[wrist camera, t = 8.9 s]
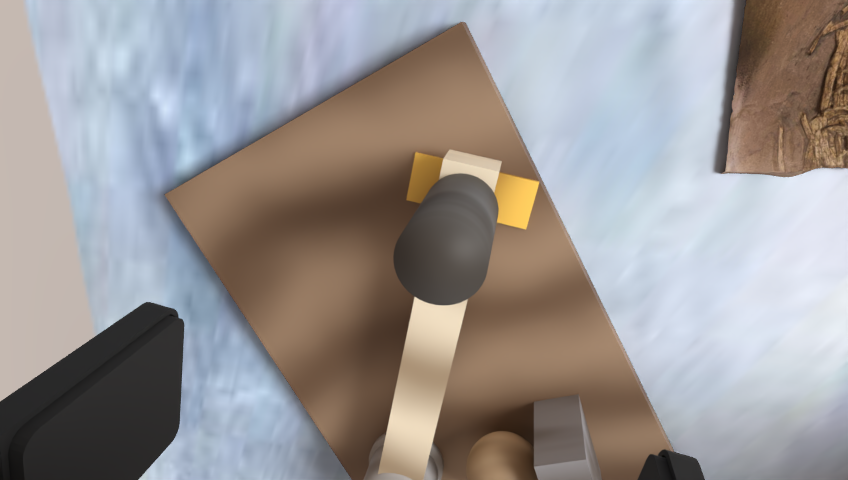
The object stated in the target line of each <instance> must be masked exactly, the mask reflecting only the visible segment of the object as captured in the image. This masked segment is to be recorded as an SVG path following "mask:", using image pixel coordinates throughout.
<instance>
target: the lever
mask: <svg viewBox="0 0 848 480" xmlns="http://www.w3.org/2000/svg"><path fill="white" fill-rule="evenodd" d="M501 163H502V161H498V160H494V159H490V158H485V157H481V156H476V155H472V154H468V153H463V152H459V151H455V150H449V151H448V153H447V154H446V156H445V157H444V158H443V163H442V167H441V172H440V177H439V180H438V181H437V182H436V183H435V184H434V185H433V186H432V187H431V188H430V190H429V192H428V193H427V195H426V196H425V198H424V199H423V201H422V202H421V204H420V206H419V207H418V209H417V210H416V212H415V213H414V215H413V216H412V218H411V220H410V221H409V223H408V224H407V226H406V227H405V229H404V230H403V232H402V233H401V235H400V237H399V238H398V240H397V243H396V245H395V249H394V255H393V263H394V268H395V272H396V274H397V277H398V279H399V280H400V282H401V284H402V285H403V286H404V288H405V289H406V290H407V291H408V292H409V293H411V294H412V295H413V296H414V302H413V307H412V312H411V317H410V322H409V326H408V331H407V336H406V341H405V346H404V350H403V355H402V360H401V365H400V370H399V375H398V379H397V384H396V389H395V394H394V399H393V403H392V408H391V413H390V418H389V423H388V428H387V432H386V437H385V442H384V445H382V446H381V447H379V448H378V449H377V450H376V451H375V453H374V454H373V456H372V459H371V461H370V464H369V467H368V469H367V472H366V474H365V477H364V480H438V468H437V465H436V463H435V461H434V459H433V458H432V457H431V456H430V451H431V446H432V442H433V438H434V434H435V430H436V426H437V422H438V418H439V414H440V410H441V406H442V402H443V398H444V394H445V390H446V386H447V382H448V378H449V374H450V370H451V366H452V361H453V357H454V353H455V349H456V345H457V341H458V337H459V333H460V329H461V325H462V321H463V317H464V313H465V309H466V305H467V301H468V299H469V298H470V297H472V296H473V295H474V294H475V293H476V292H477V291H478V290H479V289H480V287H481V286H482V284H483V282H484V281H485V278H486V275H487V271H488V266H489V260H490V255H491V250H492V245H493V239H494V234H495V229H496V224H497V219H498V211H499V208H498V202H497V198H496V196H495V194H494V192H495V187H496V183H497V179H498V175H499V171H500V167H501Z"/></svg>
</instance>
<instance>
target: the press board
mask: <svg viewBox="0 0 848 480" xmlns="http://www.w3.org/2000/svg"><path fill="white" fill-rule="evenodd" d="M449 150H455V151H459V152H463V153H468V154H472V155H476V156H481V157H485V158H490V159H494V160H498V161H502V163H501V167H500V171H499V175H498V179H497V183H496V187H495V192H494V194H495V196H496V198H497V202H498V208H499V211H498V219H497V224H496V229H495V234H494V239H493V245H492V250H491V255H490V260H489V266H488V271H487V275H486V278H485V281H484V282H483V284H482V286H481V287H480V289H479V290H478V291H477V292H476V293H475V294H474V295H473V296H472V297H470V298H469V299H468V301H467V305H466V309H465V313H464V317H463V321H462V325H461V329H460V333H459V337H458V341H457V345H456V349H455V353H454V357H453V361H452V366H451V370H450V374H449V378H448V382H447V386H446V390H445V394H444V398H443V402H442V406H441V410H440V414H439V418H438V422H437V426H436V430H435V434H434V438H433V442H432V446H431V451H430V456H431V457H432V458H433V459H434V461H435V463H436V465H437V468H438V480H638V477H639V475H640V473H641V470H642V468H643V466H644V464H645V461H646V459H647V457H648V456H649V455H650V454H654V455H657V456H658V454H659V452H660V451H661V450H664V449H665V450H669V451H672V452H674V450H673V448H672V446H671V444H670V442H669V440H668V438H667V436H666V434H665V432H664V430H663V428H662V425H661V423H660V421H659V419H658V417H657V415H656V413H655V411H654V409H653V407H652V405H651V403H650V401H649V399H648V397H647V395H646V393H645V391H644V388H643V386H642V384H641V382H640V380H639V378H638V376H637V374H636V372H635V370H634V368H633V366H632V364H631V362H630V360H629V358H628V356H627V354H626V351H625V349H624V347H623V345H622V343H621V341H620V339H619V337H618V335H617V333H616V331H615V329H614V327H613V325H612V323H611V321H610V319H609V317H608V314H607V312H606V310H605V308H604V306H603V304H602V302H601V300H600V298H599V296H598V294H597V292H596V290H595V288H594V286H593V284H592V282H591V280H590V277H589V275H588V273H587V271H586V269H585V267H584V265H583V263H582V261H581V259H580V257H579V255H578V253H577V251H576V249H575V247H574V245H573V243H572V240H571V238H570V236H569V234H568V232H567V230H566V228H565V226H564V224H563V222H562V220H561V218H560V216H559V214H558V212H557V210H556V208H555V206H554V203H553V201H552V199H551V197H550V195H549V193H548V191H547V189H546V187H545V185H544V183H543V181H542V179H541V177H540V175H539V173H538V171H537V169H536V166H535V164H534V162H533V160H532V158H531V156H530V154H529V152H528V150H527V148H526V146H525V144H524V142H523V140H522V138H521V136H520V134H519V132H518V129H517V127H516V125H515V123H514V121H513V119H512V117H511V115H510V113H509V111H508V109H507V107H506V105H505V103H504V101H503V99H502V97H501V95H500V92H499V90H498V88H497V86H496V84H495V82H494V80H493V78H492V76H491V74H490V72H489V70H488V68H487V66H486V64H485V62H484V60H483V58H482V55H481V53H480V51H479V49H478V47H477V45H476V43H475V41H474V39H473V37H472V35H471V33H470V31H469V29H468V27H467V25H466V23H465V22H461V23H459V24H457V25H455V26H454V27H452V28H450V29H449V30H447V31H445V32H443V33H442V34H440V35H438V36H437V37H435V38H433V39H431V40H430V41H428V42H426V43H425V44H423V45H421V46H419V47H418V48H416V49H414V50H412V51H411V52H409V53H407V54H406V55H404V56H402V57H400V58H399V59H397V60H395V61H394V62H392V63H390V64H388V65H387V66H385V67H383V68H382V69H380V70H378V71H376V72H375V73H373V74H371V75H369V76H368V77H366V78H364V79H363V80H361V81H359V82H357V83H356V84H354V85H352V86H351V87H349V88H347V89H345V90H344V91H342V92H340V93H338V94H337V95H335V96H333V97H332V98H330V99H328V100H326V101H325V102H323V103H321V104H320V105H318V106H316V107H314V108H313V109H311V110H309V111H308V112H306V113H304V114H302V115H301V116H299V117H297V118H295V119H294V120H292V121H290V122H289V123H287V124H285V125H283V126H282V127H280V128H278V129H277V130H275V131H273V132H271V133H270V134H268V135H266V136H265V137H263V138H261V139H259V140H258V141H256V142H254V143H252V144H251V145H249V146H247V147H246V148H244V149H242V150H240V151H239V152H237V153H235V154H234V155H232V156H230V157H228V158H227V159H225V160H223V161H221V162H220V163H218V164H216V165H215V166H213V167H211V168H209V169H208V170H206V171H204V172H203V173H201V174H199V175H197V176H196V177H194V178H192V179H191V180H189V181H187V182H185V183H184V184H182V185H180V186H178V187H177V188H175V189H173V190H172V191H170V192H168V193H166V194H165V196H166V198H167V199H168V201H169V202H170V204H171V205H172V207H173V208H174V210H175V211H176V213H177V215H178V216H179V218H180V219H181V221H182V222H183V224H184V225H185V227H186V228H187V230H188V231H189V233H190V234H191V236H192V237H193V239H194V240H195V242H196V243H197V245H198V246H199V248H200V249H201V251H202V253H203V254H204V256H205V257H206V259H207V260H208V262H209V263H210V265H211V266H212V268H213V269H214V271H215V272H216V274H217V275H218V277H219V278H220V280H221V281H222V283H223V284H224V286H225V287H226V289H227V291H228V292H229V294H230V295H231V297H232V298H233V300H234V301H235V303H236V304H237V306H238V307H239V309H240V310H241V312H242V313H243V315H244V316H245V318H246V319H247V321H248V322H249V324H250V325H251V327H252V329H253V330H254V332H255V333H256V335H257V336H258V338H259V339H260V341H261V342H262V344H263V345H264V347H265V348H266V350H267V351H268V353H269V354H270V356H271V357H272V359H273V360H274V362H275V363H276V365H277V366H278V368H279V370H280V371H281V373H282V374H283V376H284V377H285V379H286V380H287V382H288V383H289V385H290V386H291V388H292V389H293V391H294V392H295V394H296V395H297V397H298V398H299V400H300V401H301V403H302V404H303V406H304V408H305V409H306V411H307V412H308V414H309V415H310V417H311V418H312V420H313V421H314V423H315V424H316V426H317V427H318V429H319V430H320V432H321V433H322V435H323V436H324V438H325V439H326V441H327V442H328V444H329V446H330V447H331V449H332V450H333V452H334V453H335V455H336V456H337V458H338V459H339V461H340V462H341V464H342V465H343V467H344V468H345V470H346V471H347V473H348V474H349V476H350V477H351V479H352V480H364V477H365V474H366V472H367V469H368V467H369V464H370V461H371V459H372V456H373V454H374V453H375V451H376V450H377V449H378V448H379V447H381V446H382V445H384V442H385V437H386V432H387V428H388V423H389V418H390V413H391V408H392V403H393V399H394V394H395V389H396V384H397V379H398V375H399V370H400V365H401V360H402V355H403V350H404V346H405V341H406V336H407V331H408V326H409V322H410V317H411V312H412V307H413V302H414V296H413V295H412V294H411V293H409V292H408V291H407V290H406V289H405V288H404V286H403V285H402V284H401V282H400V280H399V279H398V277H397V274H396V272H395V268H394V263H393V255H394V249H395V245H396V243H397V240H398V238H399V237H400V235H401V233H402V232H403V230H404V229H405V227H406V226H407V224H408V223H409V221H410V220H411V218H412V216H413V215H414V213H415V212H416V210H417V209H418V207H419V206H420V204H421V202H422V201H423V199H424V198H425V196H426V195H427V193H428V192H429V190H430V188H431V187H432V186H433V185H434V184H435V183H436V182H437V181H438V180H439V177H440V172H441V167H442V163H443V158H444V157H445V156H446V154H447V153H448V151H449Z"/></svg>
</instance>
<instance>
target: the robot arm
mask: <svg viewBox="0 0 848 480" xmlns="http://www.w3.org/2000/svg"><path fill="white" fill-rule="evenodd" d="M183 341H184V322H183V320H182V319H180V318H178V313H177V311H176V310H175V309H172V308H168V307H165V306H161V305H158V304H154V303H151V302H146V303H144V304H142V305H141V306H139V307H138V308H136V309H135V310H133V311H132V312H130V313H129V314H127V315H126V316H124V317H123V318H122V319H120V320H119V321H117V322H116V323H114V324H113V325H111V326H110V327H108V328H107V329H106V330H104V331H103V332H101V333H100V334H98V335H97V336H95V337H94V338H92V339H91V340H89V341H88V342H87V343H85V344H84V345H82V346H81V347H79V348H78V349H76V350H75V351H73V352H72V353H71V354H69V355H68V356H66V357H65V358H63V359H62V360H60V361H59V362H57V363H56V364H54V365H53V366H52V367H50V368H49V369H47V370H46V371H44V372H43V373H41V374H40V375H38V376H37V377H35V378H34V379H33V380H31V381H30V382H28V383H27V384H25V385H24V386H22V387H21V388H19V389H18V390H17V391H15V392H14V393H12V394H11V395H9V396H8V397H6V398H5V399H3V400H2V401H1V402H0V480H138V479H139V478H140V477H141V476H142V475H143V474H144V473H145V471H146V470H147V469H148V468H149V467H150V466H151V465H152V464H153V463H154V461H155V460H156V459H157V458H158V457H159V456H160V455H161V454H162V453H163V451H164V450H165V449H166V448H167V447H168V446H169V445H170V444H171V442H172V441H173V440H174V438H175V436H176V434H177V432H178V429H179V424H180V404H181V383H182V362H183ZM638 480H705V479H704V476H703V473H702V471H701V468H700V465H699V463H698V461H697V459H695V458H693V457H690V456H686V455H683V454H679V453H676V452H672V451H669V450H665V449H664V450H661V451H660V452H659V454H658V456H657V455H654V454H650V455H649V456H648V457H647V459H646V461H645V464H644V466H643V468H642V470H641V473H640V475H639V477H638Z"/></svg>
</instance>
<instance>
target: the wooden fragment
mask: <svg viewBox="0 0 848 480" xmlns="http://www.w3.org/2000/svg"><path fill="white" fill-rule="evenodd" d="M736 72H737V76H736V81H735V87H734V93H735V95H734V96H733V98H734V100H733V101H732V109H733V112H732V113H731V118H730V129H729V140H728V154H727V162H726V170H725V172H723V173H721V174H724V173H740V174H741V173H747V174H766V175H773V176H779V177H792V176H796V175H800V174H803V173H805V172H808V171H811V170H813V169H816V168H821V167H824V168H835V167H840V168H848V0H746V6H745V11H744V20H743V26H742V35H741V43H740V49H739V58H738V64H737V69H736Z"/></svg>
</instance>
